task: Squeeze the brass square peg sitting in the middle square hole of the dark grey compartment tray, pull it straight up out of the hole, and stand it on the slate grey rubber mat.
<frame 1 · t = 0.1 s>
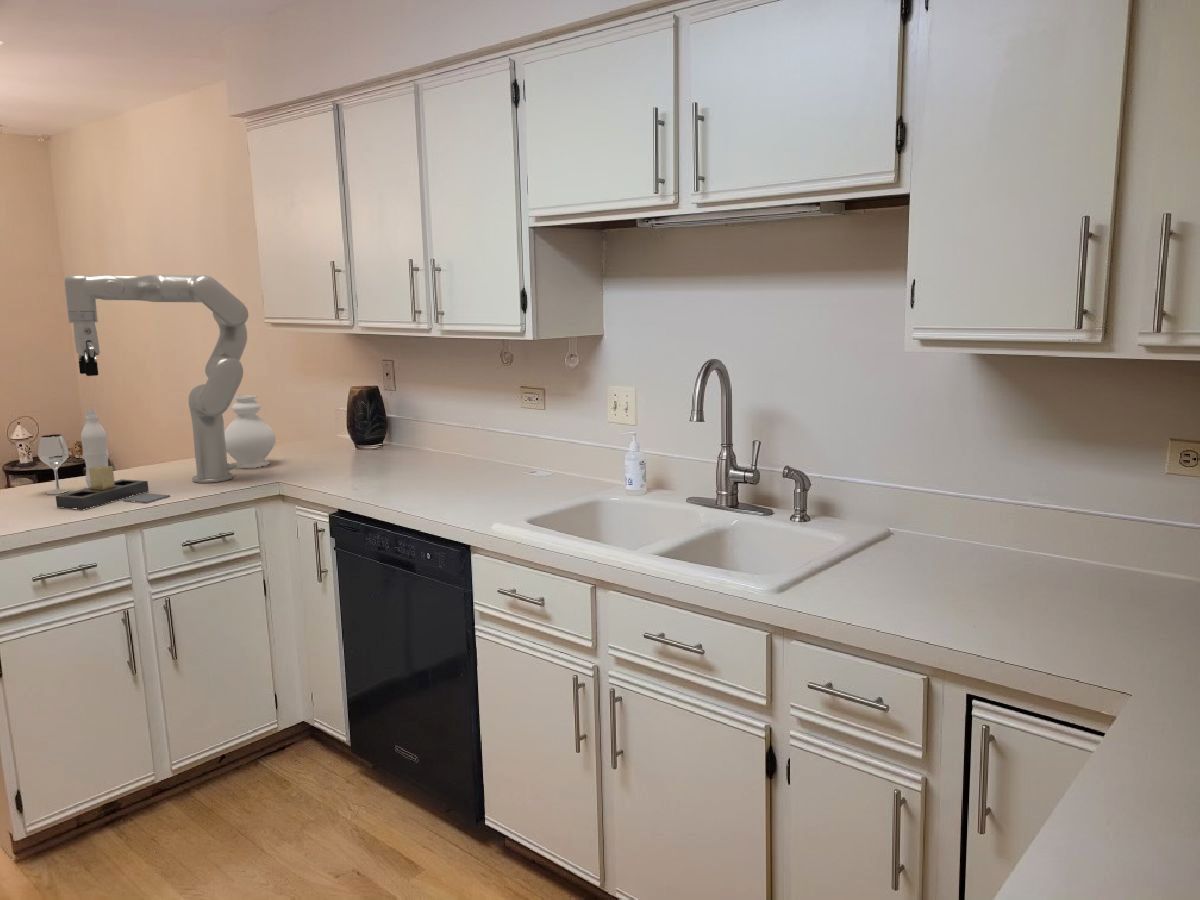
hand: (89, 374, 269), 37 cm above the worktop, tool pointing down, fingers open, 9 cm apart
brass peg: (102, 483, 267), in the dark grey compartment tray
wineglass: (58, 493, 279), on the worktop
decorative vase: (251, 465, 320), on the worktop
grey rubber mat: (146, 499, 268), on the worktop
dark grey compartment tray: (104, 499, 268), on the worktop
water bottle: (99, 488, 285), on the worktop
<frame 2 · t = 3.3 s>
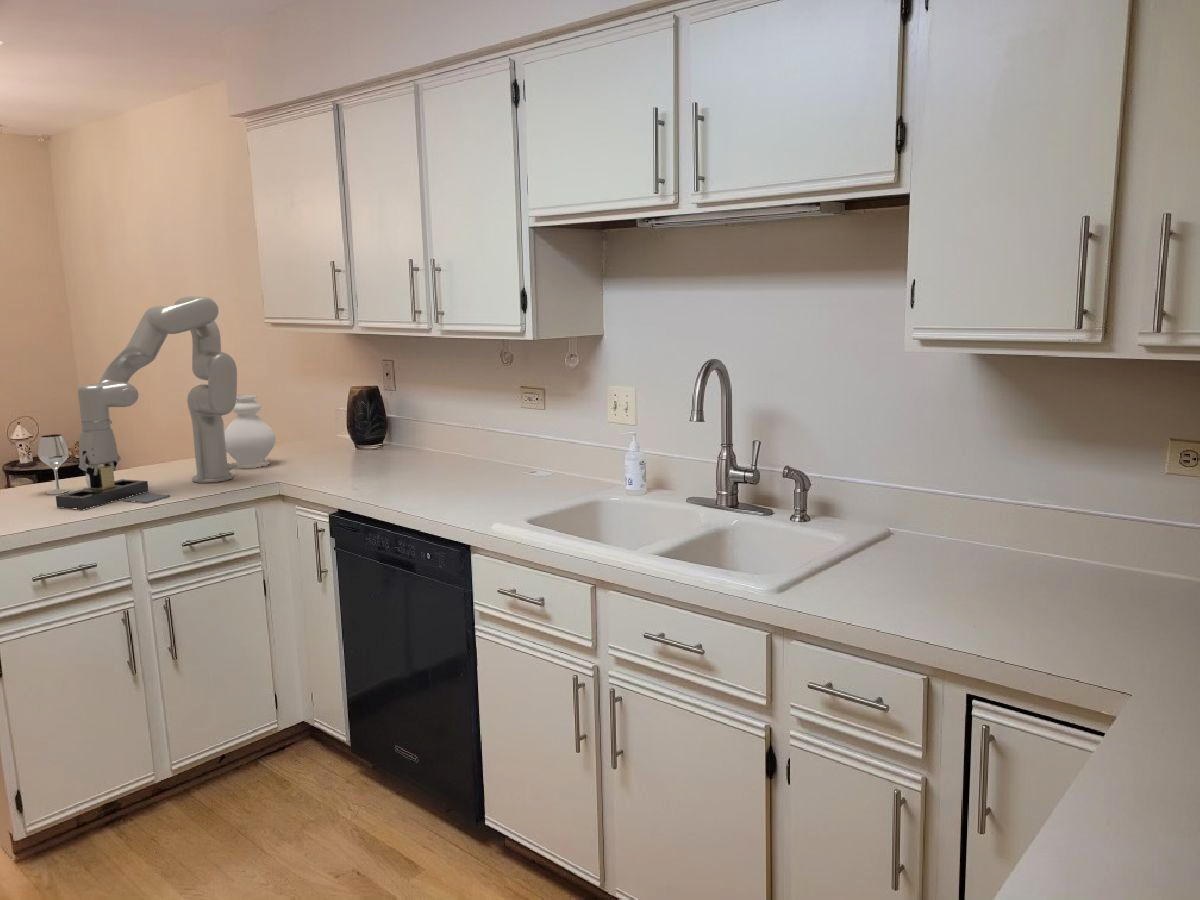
hand: (102, 485, 267), 4 cm above the worktop, tool pointing down, fingers closed on brass peg, 4 cm apart
brass peg: (102, 483, 267), in the dark grey compartment tray, touching gripper
everything else where it was.
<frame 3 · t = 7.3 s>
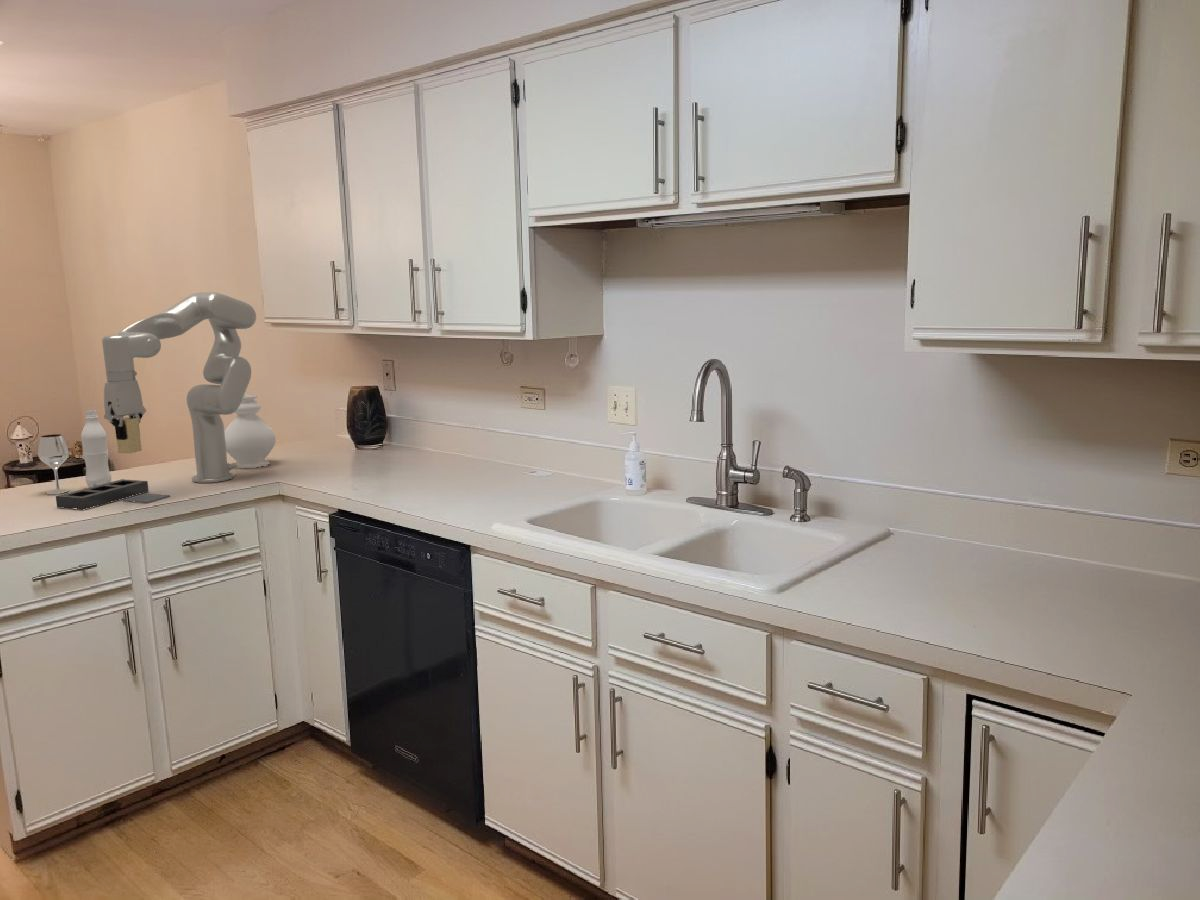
hand: (128, 437, 265), 19 cm above the worktop, tool pointing down, fingers closed on brass peg, 4 cm apart
brass peg: (128, 435, 265), point 20 cm above the worktop, touching gripper
everything else where it was.
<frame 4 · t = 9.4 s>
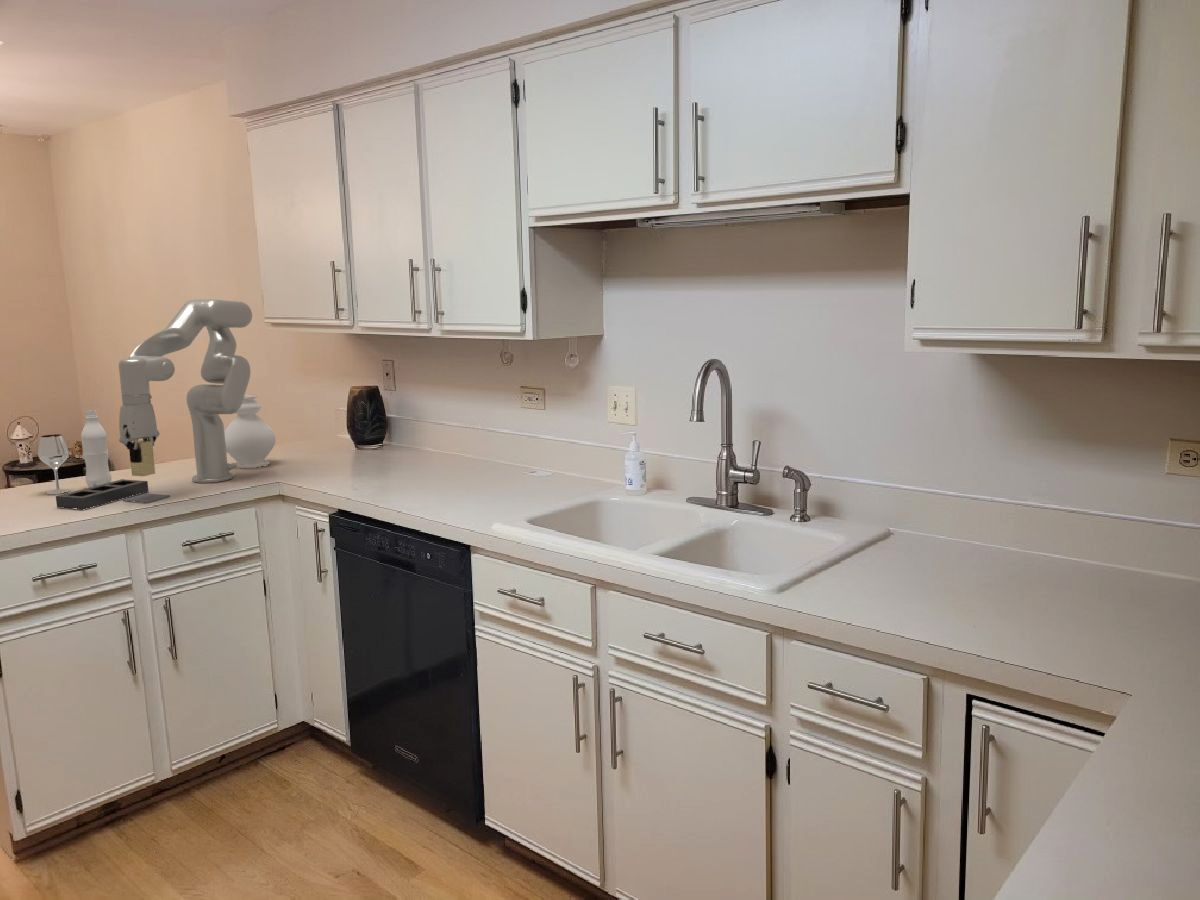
hand: (142, 460, 266), 12 cm above the worktop, tool pointing down, fingers closed on brass peg, 4 cm apart
brass peg: (142, 458, 266), point 13 cm above the worktop, touching gripper
everything else where it was.
when the fingers open (6 cm above the worktop, at t = 11.2 s): brass peg stays where it is, resting on grey rubber mat.
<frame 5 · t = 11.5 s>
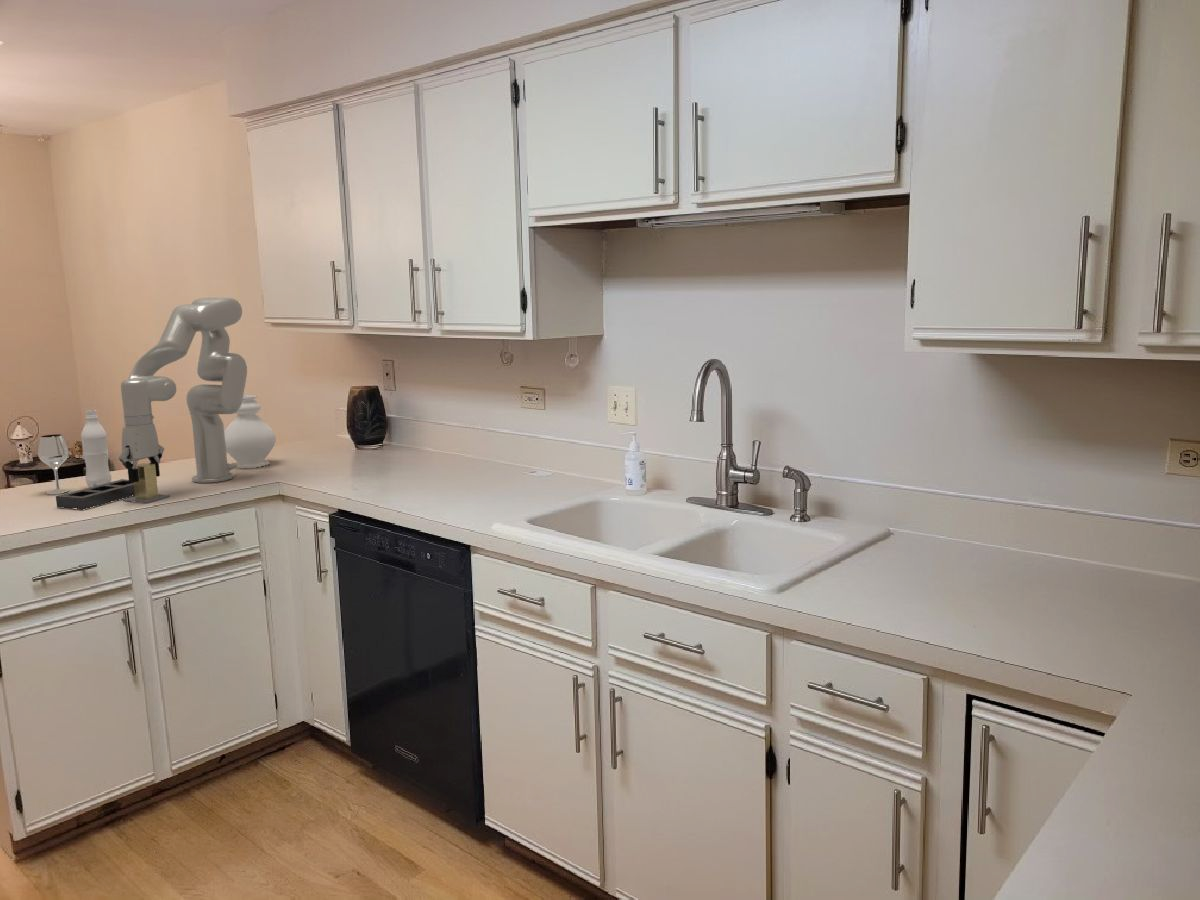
hand: (144, 478, 267), 6 cm above the worktop, tool pointing down, fingers open, 7 cm apart
brass peg: (145, 481, 267), on the grey rubber mat
everything else where it was.
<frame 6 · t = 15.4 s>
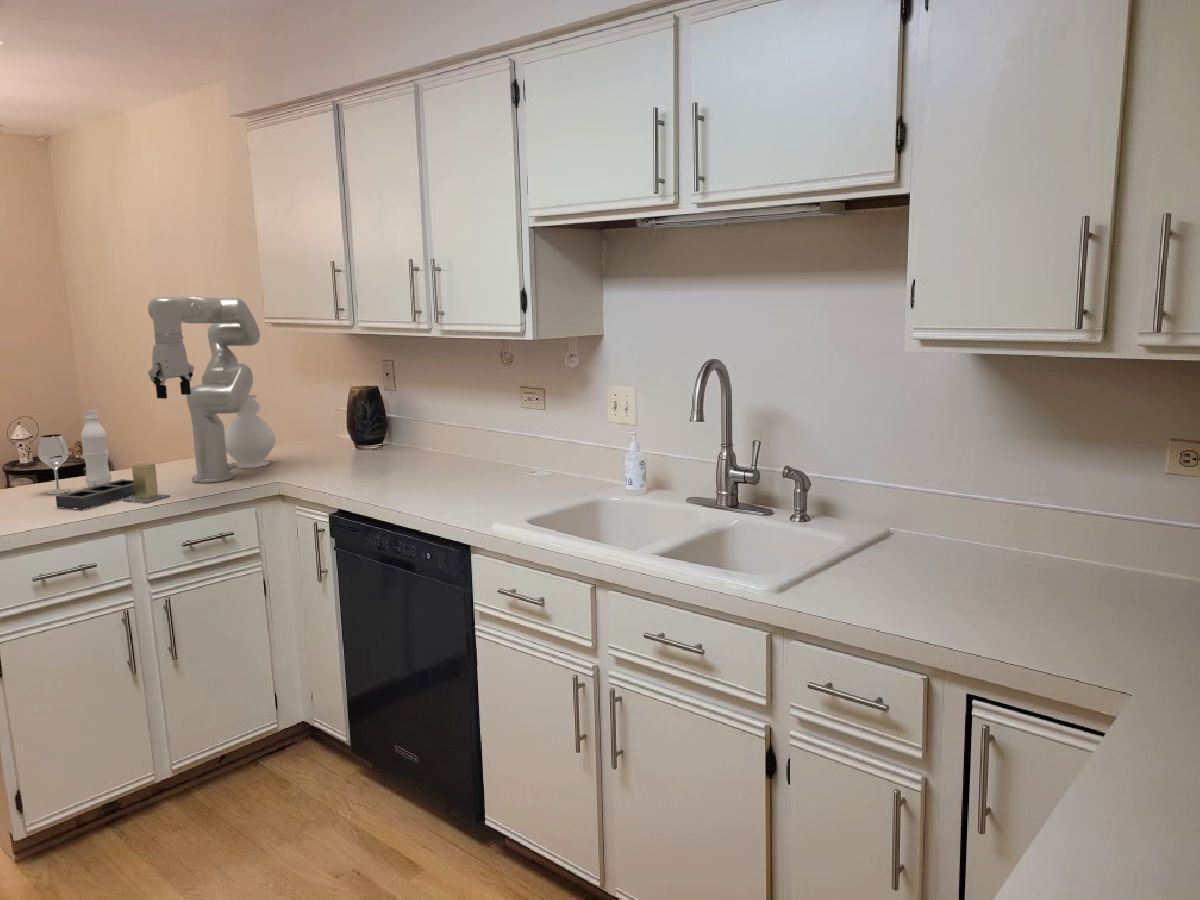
hand: (174, 396, 270), 30 cm above the worktop, tool pointing down, fingers open, 9 cm apart
nothing on the worktop moved.
at the end: brass peg inside the target area on the grey rubber mat (0.1 cm from its centre), point 5.5 cm above the grey rubber mat's base; brass peg tilted 0°; the gripper is holding nothing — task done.
